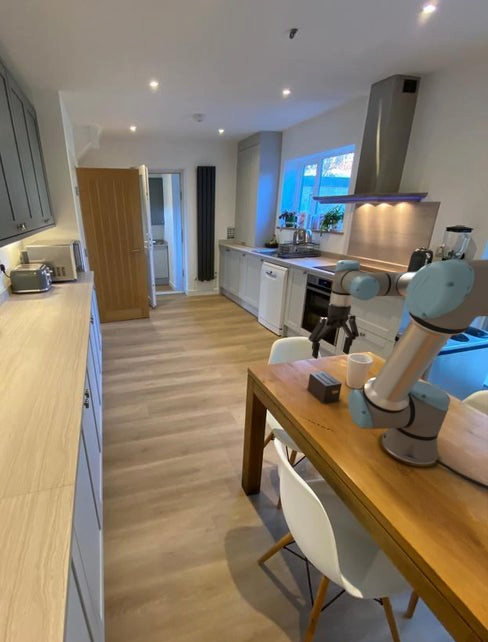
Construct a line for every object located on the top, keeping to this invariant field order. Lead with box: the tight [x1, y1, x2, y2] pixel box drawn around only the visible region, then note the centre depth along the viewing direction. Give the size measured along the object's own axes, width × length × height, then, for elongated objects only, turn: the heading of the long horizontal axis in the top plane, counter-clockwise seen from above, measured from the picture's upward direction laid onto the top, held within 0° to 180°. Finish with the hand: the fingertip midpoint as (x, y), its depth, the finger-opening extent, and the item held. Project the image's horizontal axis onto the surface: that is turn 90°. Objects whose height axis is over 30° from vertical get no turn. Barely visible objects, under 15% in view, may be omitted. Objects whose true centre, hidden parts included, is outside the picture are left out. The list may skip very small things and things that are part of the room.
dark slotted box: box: [307, 370, 343, 404], centre depth 132 cm, size 12×7×8 cm, turn 14°
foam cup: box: [346, 353, 374, 390], centre depth 138 cm, size 10×9×13 cm
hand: (330, 355), depth 128 cm, fingers open, 13 cm apart
